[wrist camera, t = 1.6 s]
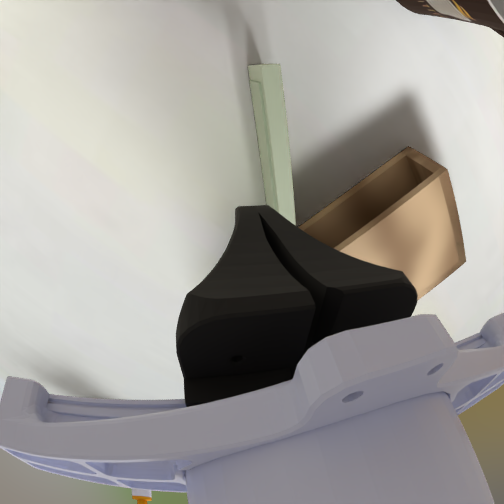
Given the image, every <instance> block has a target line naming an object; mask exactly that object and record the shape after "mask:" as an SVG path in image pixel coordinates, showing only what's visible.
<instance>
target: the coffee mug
mask: <svg viewBox="0 0 504 504" xmlns="http://www.w3.org/2000/svg"><path fill="white" fill-rule="evenodd" d="M396 1H397V2H399V3H400V4H401V5H402V6H403V7H405V8H406V9H408V10H410V11H412V12H414V13H418V14H423V15H431V16H438V17H444V18H450V19H456V20H461V21H466V22H470V23H475V24H479V25H483V26H487V27H490V28H491V29H493V30H494V31H496V32H497V33H498V34H500V35H501V36H503V37H504V0H396Z"/></svg>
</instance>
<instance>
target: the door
mask: <svg viewBox="0 0 504 504" xmlns="http://www.w3.org/2000/svg"><path fill="white" fill-rule="evenodd" d="M248 71H249V77H250V80H249V82H250V89H251V96H252V102H253V109H254V116H255V123H256V130H257V137H258V144H259V152H260V159H261V166H262V174H263V181H264V189H265V196H266V204H267V205H269V206H270V207H272V208H273V209H274V210H276V211H277V212H278V213H279V214H281V215H282V216H283V217H285V218H286V219H287V220H289V221H290V222H291V223H293V224H294V225H295V226H296V221H295V207H294V193H293V181H292V169H291V158H290V147H289V137H288V127H287V118H286V108H285V100H284V91H283V83H282V75H281V67H280V64H258V65H250V66H248Z"/></svg>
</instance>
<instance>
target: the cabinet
mask: <svg viewBox="0 0 504 504" xmlns="http://www.w3.org/2000/svg"><path fill="white" fill-rule="evenodd" d="M298 228H300V229H301V230H303V231H304V232H306V233H307V234H309V235H310V236H312V237H313V238H315V239H317V240H318V241H320V242H322V243H324V244H326V245H328V246H330V247H332V248H334V249H336V250H338V251H340V252H343V253H345V254H347V255H350V256H352V257H355V258H357V259H360V260H363V261H366V262H369V263H372V264H375V265H379V266H383V267H387V268H391V269H395V270H399V271H403V273H404V274H405V275H406V276H407V278H408V279H409V280H410V282H411V283H412V285H413V286H414V287H415V289H416V291H417V294H418V297H417V300H419V299H420V298H421V297H423V296H424V295H425V294H427V293H428V292H429V291H431V290H432V289H433V288H434V287H436V286H437V285H438V284H439V283H441V282H442V281H443V280H444V279H446V278H447V277H448V276H449V275H451V274H452V273H453V272H454V271H455V270H457V269H458V268H459V267H460V266H461V265H463V264H464V263H465V262H466V257H465V250H464V243H463V237H462V231H461V226H460V220H459V215H458V211H457V206H456V201H455V197H454V193H453V189H452V185H451V181H450V177H449V173H448V170H447V169H446V168H444V167H443V166H441V165H440V164H438V163H436V162H435V161H433V160H432V159H430V158H428V157H427V156H425V155H423V154H421V153H420V152H418V151H416V150H414V149H413V148H411V147H409V146H408V147H407V148H405V149H404V150H403V151H401V152H400V153H399V154H397V155H396V156H395V157H393V158H392V159H391V160H389V161H388V162H386V163H385V164H384V165H382V166H381V167H380V168H378V169H377V170H376V171H374V172H373V173H372V174H370V175H369V176H368V177H366V178H365V179H363V180H362V181H361V182H359V183H358V184H357V185H355V186H354V187H353V188H351V189H350V190H349V191H347V192H346V193H344V194H343V195H342V196H340V197H339V198H338V199H336V200H335V201H334V202H332V203H331V204H329V205H328V206H327V207H325V208H324V209H323V210H321V211H320V212H319V213H317V214H316V215H314V216H313V217H312V218H310V219H309V220H308V221H306V222H305V223H303V224H302V225H301V226H299V227H298Z"/></svg>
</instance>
